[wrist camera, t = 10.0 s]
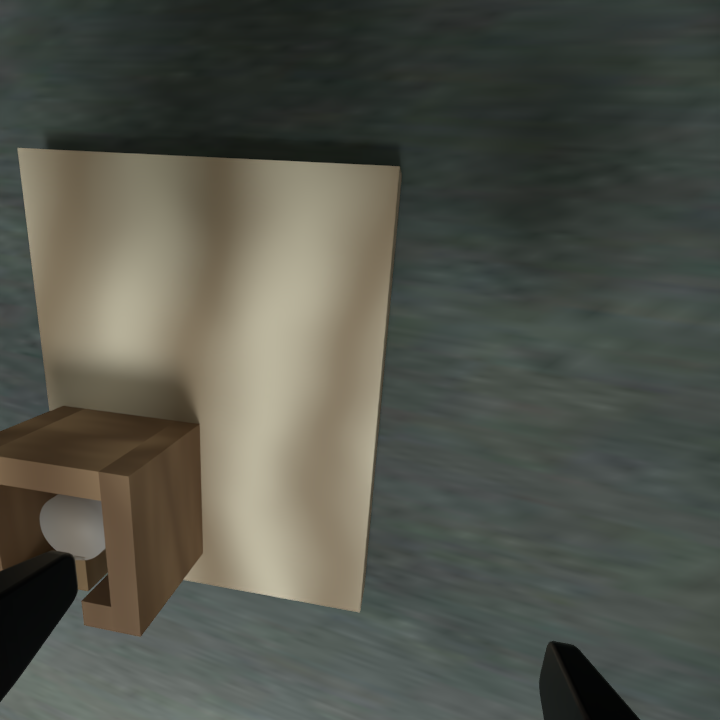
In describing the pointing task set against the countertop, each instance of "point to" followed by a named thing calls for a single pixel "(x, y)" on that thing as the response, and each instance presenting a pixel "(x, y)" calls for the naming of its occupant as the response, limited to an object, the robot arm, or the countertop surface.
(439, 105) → the countertop surface
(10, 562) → the slotted channel bracket
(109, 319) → the plate
